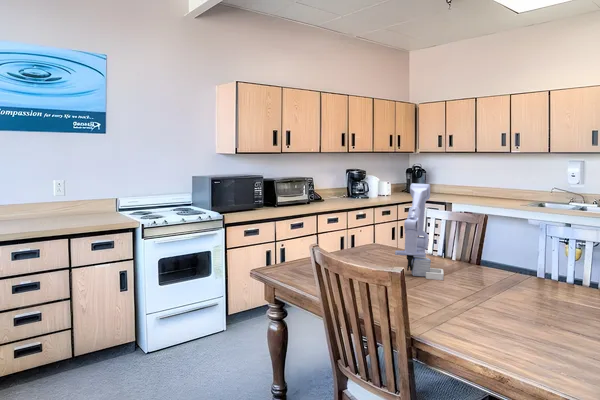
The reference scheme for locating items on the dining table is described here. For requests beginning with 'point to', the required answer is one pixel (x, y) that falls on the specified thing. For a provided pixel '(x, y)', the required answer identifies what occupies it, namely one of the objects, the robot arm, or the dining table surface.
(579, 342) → the dining table surface
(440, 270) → the dock
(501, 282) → the dining table surface
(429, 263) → the medicine box
